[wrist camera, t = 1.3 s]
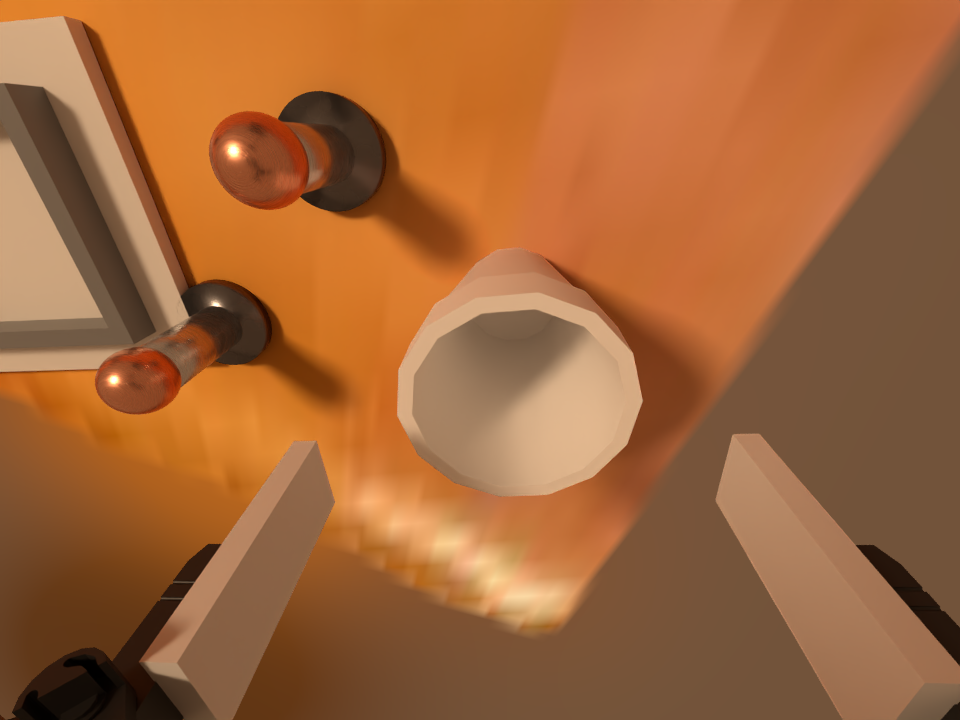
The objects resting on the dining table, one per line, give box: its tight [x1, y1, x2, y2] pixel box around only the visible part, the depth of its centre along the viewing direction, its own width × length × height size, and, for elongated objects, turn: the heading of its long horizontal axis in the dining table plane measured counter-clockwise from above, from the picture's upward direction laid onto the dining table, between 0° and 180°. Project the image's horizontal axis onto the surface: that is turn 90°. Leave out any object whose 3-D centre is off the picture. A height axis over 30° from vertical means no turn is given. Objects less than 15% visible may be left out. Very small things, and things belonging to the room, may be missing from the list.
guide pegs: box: [95, 91, 386, 414], centre depth 23 cm, size 6×20×10 cm, turn 139°
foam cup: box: [397, 247, 643, 496], centre depth 22 cm, size 10×9×13 cm
